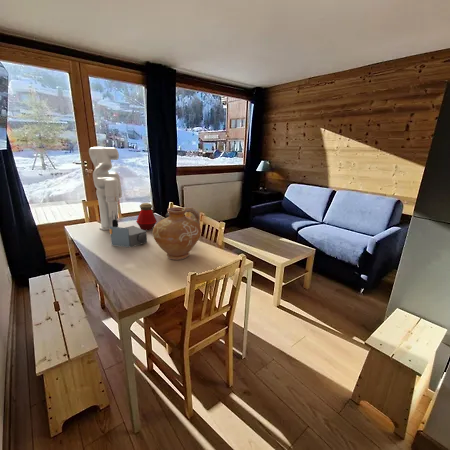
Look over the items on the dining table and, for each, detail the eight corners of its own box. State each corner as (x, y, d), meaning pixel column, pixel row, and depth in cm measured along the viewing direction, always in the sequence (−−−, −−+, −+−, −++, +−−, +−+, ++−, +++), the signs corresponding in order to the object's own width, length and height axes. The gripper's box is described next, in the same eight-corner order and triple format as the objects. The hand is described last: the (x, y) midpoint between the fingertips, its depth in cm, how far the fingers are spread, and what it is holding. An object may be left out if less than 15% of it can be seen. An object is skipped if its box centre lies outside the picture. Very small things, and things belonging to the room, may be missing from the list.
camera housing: (118, 240, 171) (117, 229, 168) (134, 236, 180) (133, 225, 177) (132, 248, 160) (131, 236, 157) (149, 243, 169) (148, 232, 166)
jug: (150, 249, 159) (148, 203, 150) (193, 244, 170) (193, 201, 161) (157, 269, 135) (155, 216, 125) (207, 262, 146) (208, 212, 136)
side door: (110, 245, 161) (109, 227, 157) (112, 244, 163) (110, 226, 159) (128, 247, 159) (127, 229, 155) (129, 246, 161) (128, 228, 157)
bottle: (133, 229, 192) (131, 204, 186) (143, 224, 205) (141, 200, 198) (151, 232, 188) (149, 206, 182) (160, 227, 201) (159, 203, 194)
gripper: (107, 196, 161) (109, 223, 167) (105, 201, 148) (108, 230, 154) (119, 196, 164) (122, 222, 169) (118, 201, 151) (121, 229, 156)
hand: (115, 226), depth 161 cm, fingers closed
